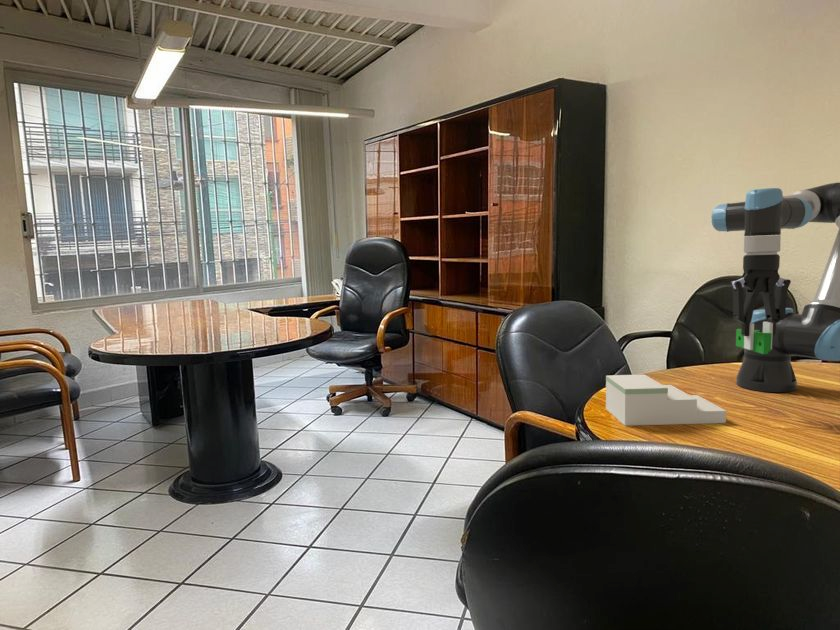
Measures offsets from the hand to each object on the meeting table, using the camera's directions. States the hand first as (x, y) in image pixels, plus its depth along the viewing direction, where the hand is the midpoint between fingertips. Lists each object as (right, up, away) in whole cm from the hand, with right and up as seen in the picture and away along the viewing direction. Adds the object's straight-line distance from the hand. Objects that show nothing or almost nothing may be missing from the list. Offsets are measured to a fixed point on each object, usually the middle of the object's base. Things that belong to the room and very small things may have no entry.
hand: (757, 348), depth 134 cm
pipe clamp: (0, -1, 0) cm, 1 cm away
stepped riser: (-22, -17, +2) cm, 28 cm away
